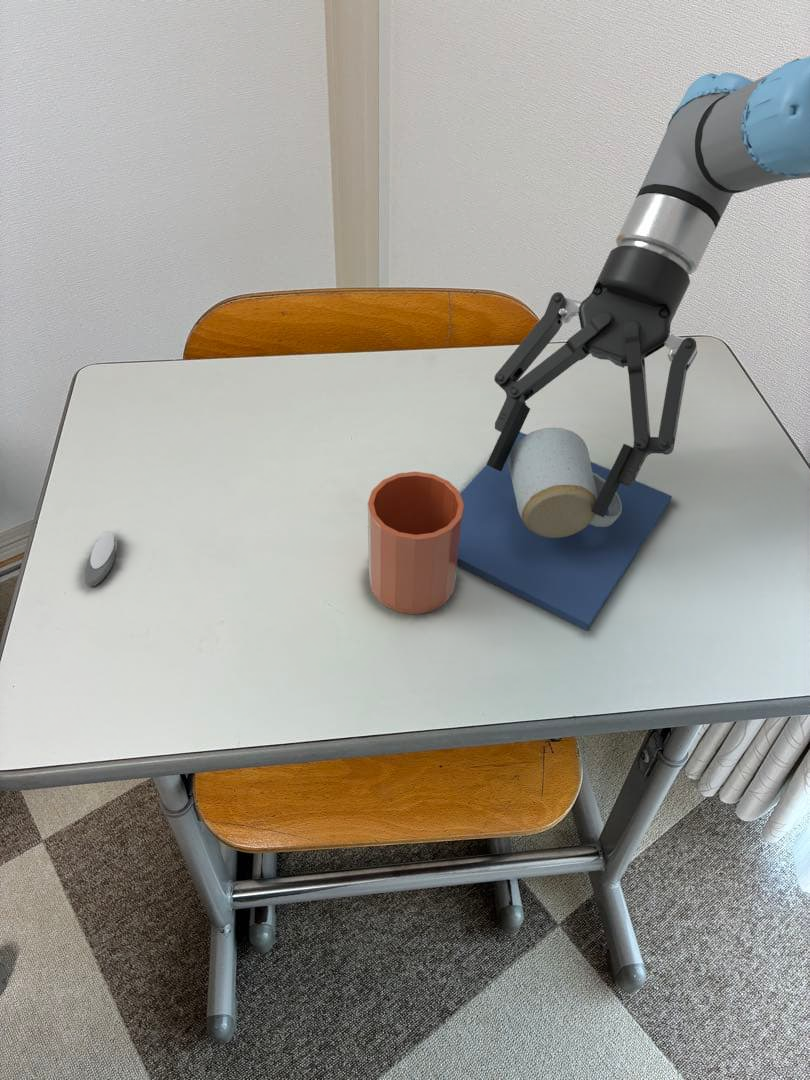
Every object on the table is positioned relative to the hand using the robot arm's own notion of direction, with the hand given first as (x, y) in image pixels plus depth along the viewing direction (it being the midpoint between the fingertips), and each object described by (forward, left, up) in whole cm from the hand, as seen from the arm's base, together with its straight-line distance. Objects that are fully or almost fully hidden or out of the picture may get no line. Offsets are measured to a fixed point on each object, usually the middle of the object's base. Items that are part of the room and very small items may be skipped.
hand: (544, 490), depth 73 cm
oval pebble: (+32, +26, -7) cm, 42 cm away
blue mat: (0, -3, -7) cm, 7 cm away
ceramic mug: (-1, -3, -4) cm, 5 cm away
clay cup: (+7, +11, -7) cm, 15 cm away
